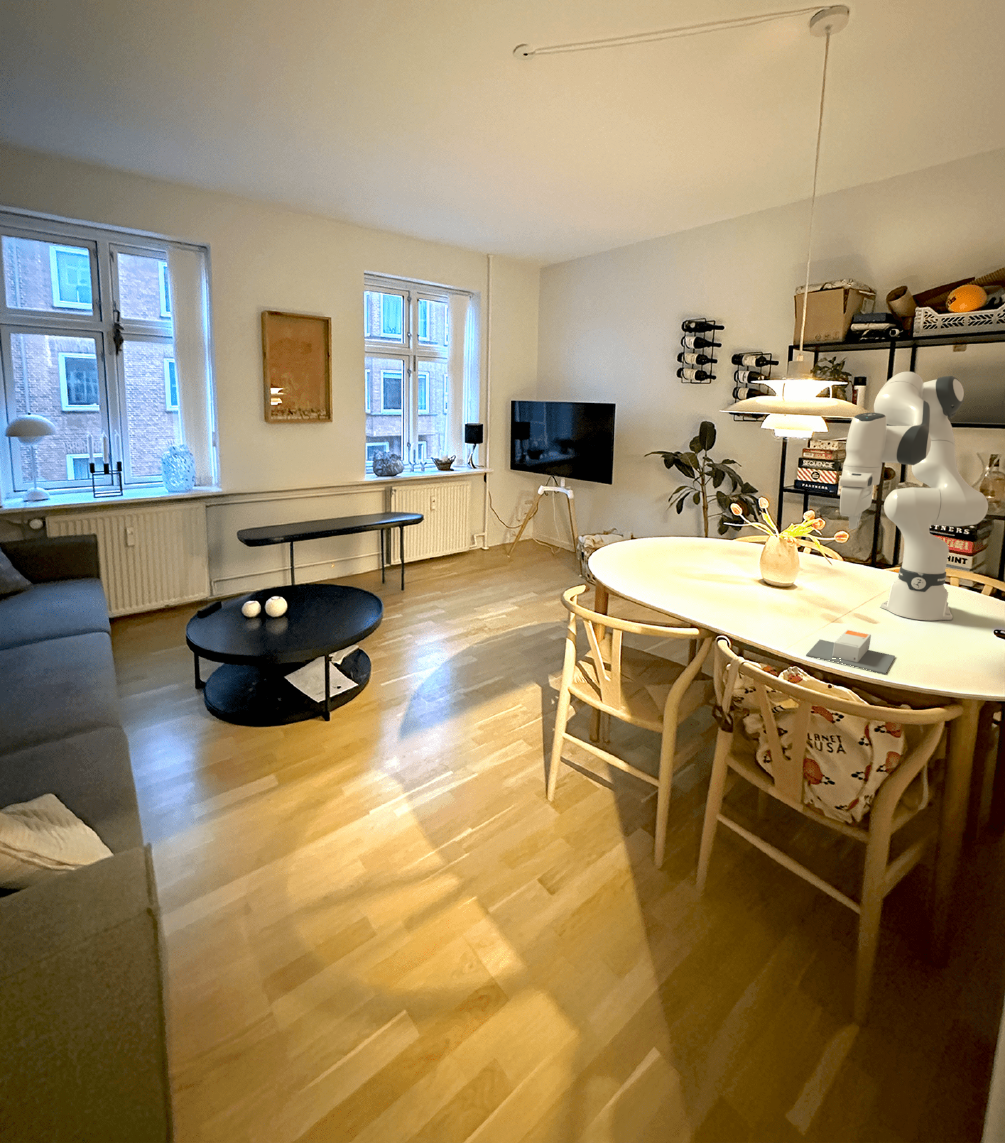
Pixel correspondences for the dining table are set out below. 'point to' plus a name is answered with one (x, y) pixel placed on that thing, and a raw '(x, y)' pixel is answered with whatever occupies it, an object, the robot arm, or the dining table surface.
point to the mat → (868, 661)
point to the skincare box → (851, 645)
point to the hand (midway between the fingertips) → (853, 528)
